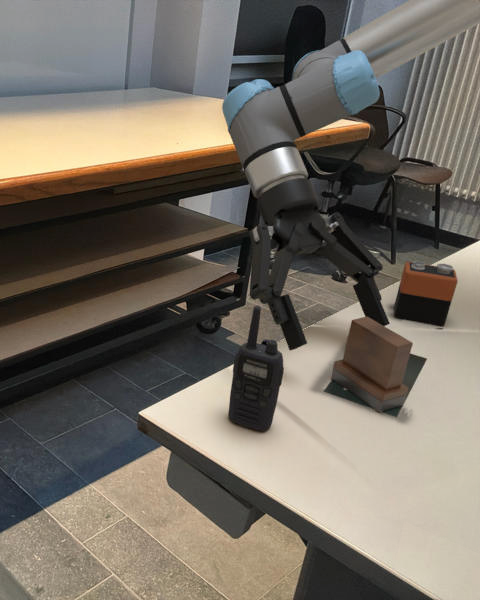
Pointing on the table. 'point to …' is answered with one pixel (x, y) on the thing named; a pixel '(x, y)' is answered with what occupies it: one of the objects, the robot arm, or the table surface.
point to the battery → (425, 293)
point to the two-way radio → (255, 380)
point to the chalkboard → (409, 379)
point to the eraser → (374, 364)
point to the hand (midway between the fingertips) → (340, 337)
